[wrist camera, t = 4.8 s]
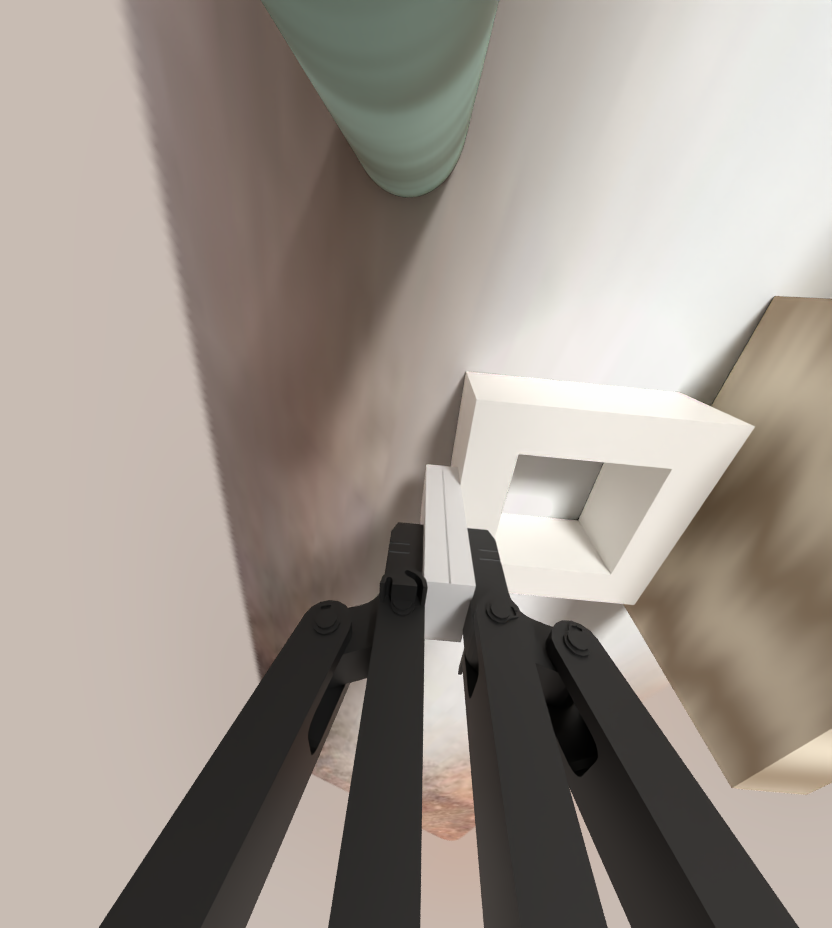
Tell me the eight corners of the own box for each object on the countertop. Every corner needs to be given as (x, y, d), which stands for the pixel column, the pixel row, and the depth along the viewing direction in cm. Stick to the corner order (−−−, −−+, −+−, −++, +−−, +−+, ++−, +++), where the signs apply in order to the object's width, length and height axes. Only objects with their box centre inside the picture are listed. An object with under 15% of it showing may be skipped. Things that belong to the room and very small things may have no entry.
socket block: (466, 371, 15) (476, 399, 11) (679, 392, 15) (755, 426, 11) (439, 533, 20) (441, 586, 16) (599, 548, 20) (634, 605, 16)
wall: (774, 296, 13) (1493, 331, 4) (848, 303, 13) (1725, 352, 4) (610, 581, 21) (731, 788, 13) (654, 585, 21) (806, 794, 13)
